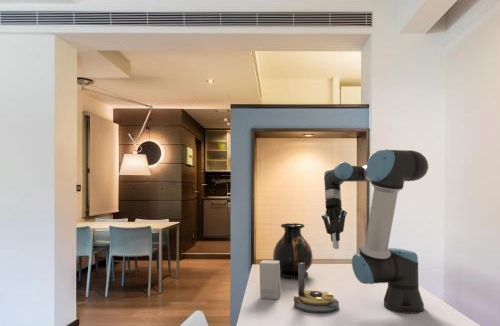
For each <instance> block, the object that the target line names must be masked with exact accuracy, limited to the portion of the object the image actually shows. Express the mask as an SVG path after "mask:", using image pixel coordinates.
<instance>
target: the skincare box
mask: <svg viewBox="0 0 500 326" xmlns="http://www.w3.org/2000/svg"><path fill="white" fill-rule="evenodd" d="M259 293H260V294H259V295H260V299H267V300H268V299H269V300H279V299H280V297H281V277H280V261H273V260H266V259H265V260H264V259H263V260H261V261H260V262H259Z"/></svg>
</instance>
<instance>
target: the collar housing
mask: <svg viewBox="0 0 500 326" xmlns="http://www.w3.org/2000/svg"><path fill="white" fill-rule="evenodd" d="M318 291H319V290H316V291H312V292H310V295H312V296H322V292H318ZM293 303H294V304H293V305H294V307H295V309H297V310H298V311H302V312H304V313H309V314H316V315H318V314H320V315H321V314H331V313H334V312H337V311H338V310H339V309H340V308H339V307H340V301H339V300H338V299H336V298H334V302H333V303H332V304H330V305H325V306H313V305H307V304H304V303H302V302H300V301H299V295H293Z"/></svg>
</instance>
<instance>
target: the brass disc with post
mask: <svg viewBox="0 0 500 326" xmlns="http://www.w3.org/2000/svg"><path fill="white" fill-rule="evenodd" d="M305 279H306V278H305V263H298V279H297V282H298V284H297V285H298V289H297V290H298V292H297V293H298V295H297V296H299V301H300V302H302V303H304V304H307V305H313V306H325V305H330V304H332V303H333V302H334V295H333V293H331V292H328V291H323V290H316V289H314V288H313V289H310V290H305V289H306V287H305V286H306V285H305V283H306V280H305ZM312 291H318V292H322V296H312V295H310V292H312Z"/></svg>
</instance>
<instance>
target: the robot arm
mask: <svg viewBox="0 0 500 326" xmlns="http://www.w3.org/2000/svg"><path fill="white" fill-rule="evenodd" d="M428 170H429V162H428V159H427V158H426V157H425V155H423V153H422V152H419V151H416V150H412V149H411V150H406V149H405V150H404V149H379V150H375V151H374V152H373V153H372V154H370V156H369V158H368V160H367V163H366V165H351V163H348V162H346V161H342V162H339V164H338V165H336V166H335V167H334V168H333V169H331V168H330V169H328V170H326V171H324V175H323V176H324V177H323V180H324V181H323V182H324V196H325V197H324V200H325V209H326V210H325V214H324V215H321V219H322V220H323V223H324V228H325V231H326V233H327V234H328V235H330V240H331V242H332V248H333V249H335V250H338V249H340V244H339V243H340V242H339V241H340V240H341V235H340V234H341V233H343V232H344V228H345V222H346V216H347V214H348V212H347V211H346V210H343V208H342V206H343V205H342V194H341V191H342V190H341V185H343V183H346V182H363V183H365V182H367V183H370V184H371V185H372V186H373V191H372V192H373V193H372V199H371V205H370V213H369V218H368V222H367V229H366V230H367V231H366V236H365V241H364V242H365V243H364V244H362V245H361V246H360V247H361V248H360V247H359V248H360V249H359V253H356V254H354V255H353V256H352V259H351V260H352V261H351V266H352V271H353V273H354V275H355V278H356V279H357V281H359V283H361V284H364V285H365V284H366V285H368V284H369V285H374V284H386V283H387V288H386V291H385V294H384V298H383V307H384V308H386V309H388V310H390V311H394V312H396V313H397V312H398V313H403V314H418V313H422V312H424V311H425V303H424V302H423V298H422V296H421V292H420V287H419V259H418V254H417V253H416V252H414V251H412V250H407V249H401V248H394V247H389V243H390V238H391V233H392V227H393V221H394V215H395V211H396V204H397V198H398V194H399V192H400V191H402V190H403V189H404V185H405V182H415V181H419V180H421V179H422V178H424V177H425V176H426V174H428V173H427V172H428Z"/></svg>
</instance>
